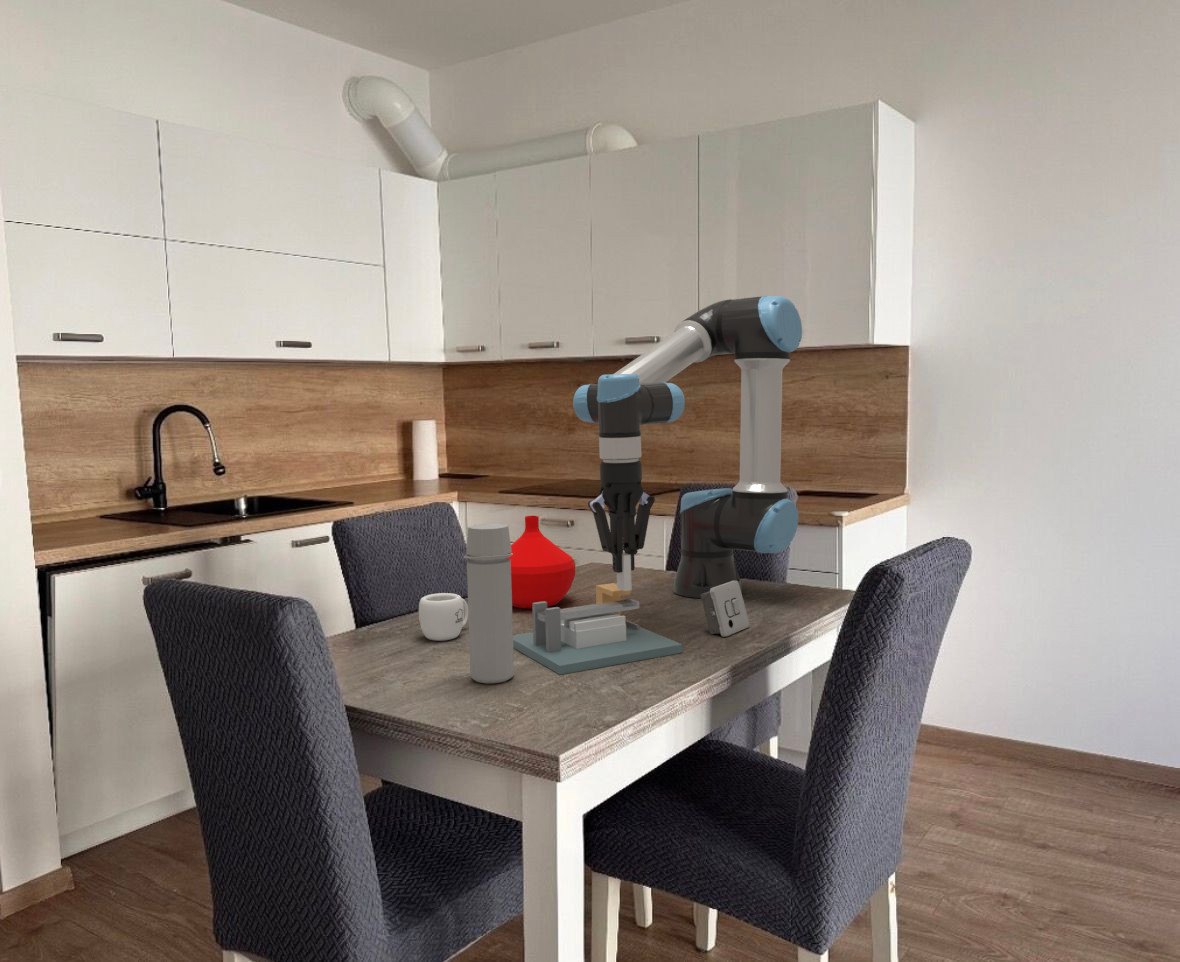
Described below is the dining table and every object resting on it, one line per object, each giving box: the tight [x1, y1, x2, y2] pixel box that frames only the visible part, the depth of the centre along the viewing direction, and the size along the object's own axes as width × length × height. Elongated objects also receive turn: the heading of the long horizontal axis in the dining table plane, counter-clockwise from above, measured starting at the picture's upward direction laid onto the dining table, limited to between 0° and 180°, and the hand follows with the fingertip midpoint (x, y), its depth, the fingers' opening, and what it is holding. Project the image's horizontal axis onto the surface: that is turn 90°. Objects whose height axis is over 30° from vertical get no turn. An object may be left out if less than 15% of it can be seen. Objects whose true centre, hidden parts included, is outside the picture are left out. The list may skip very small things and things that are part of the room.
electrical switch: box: [700, 581, 750, 638], centre depth 183 cm, size 9×5×9 cm, turn 141°
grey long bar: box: [537, 598, 640, 622], centre depth 172 cm, size 19×3×1 cm, turn 118°
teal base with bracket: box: [513, 601, 683, 675], centre depth 172 cm, size 24×22×9 cm
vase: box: [507, 515, 576, 610], centre depth 208 cm, size 18×18×19 cm
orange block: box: [595, 582, 632, 616], centre depth 181 cm, size 4×6×8 cm, turn 28°
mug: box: [418, 592, 469, 642], centre depth 184 cm, size 12×8×8 cm
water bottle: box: [463, 522, 515, 684], centre depth 156 cm, size 9×8×25 cm
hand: (624, 589), depth 175 cm, fingers closed
